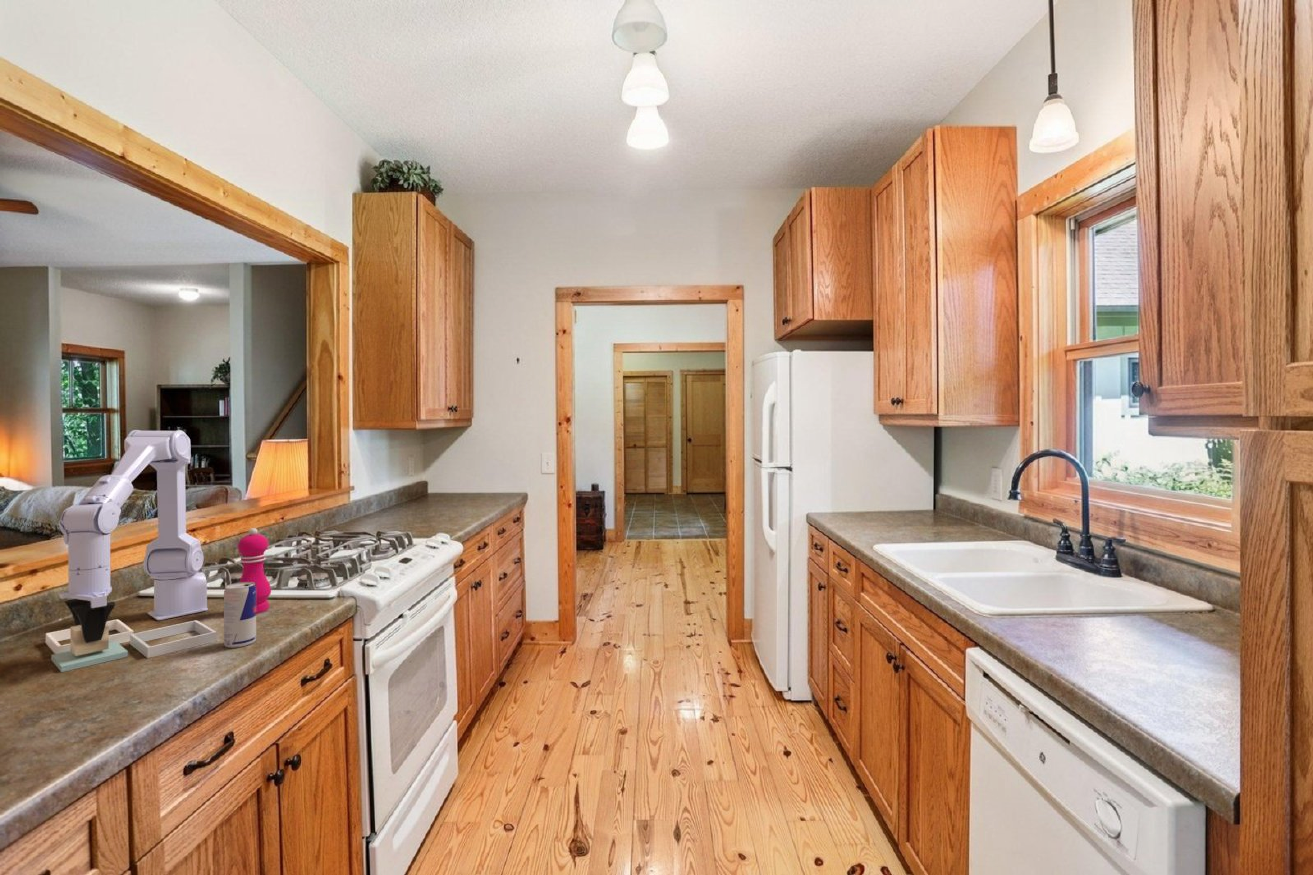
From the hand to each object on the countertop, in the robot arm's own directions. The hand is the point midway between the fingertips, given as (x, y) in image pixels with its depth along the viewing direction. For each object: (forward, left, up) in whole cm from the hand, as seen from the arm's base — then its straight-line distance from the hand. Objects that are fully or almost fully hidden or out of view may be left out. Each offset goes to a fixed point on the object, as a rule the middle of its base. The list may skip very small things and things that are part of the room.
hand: (89, 638), depth 110 cm
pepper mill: (-30, -8, -4) cm, 31 cm away
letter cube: (0, 0, -2) cm, 2 cm away
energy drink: (-20, +14, -4) cm, 24 cm away
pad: (0, 0, -4) cm, 4 cm away
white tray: (-2, -11, -4) cm, 12 cm away
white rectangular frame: (-12, +3, -4) cm, 13 cm away
